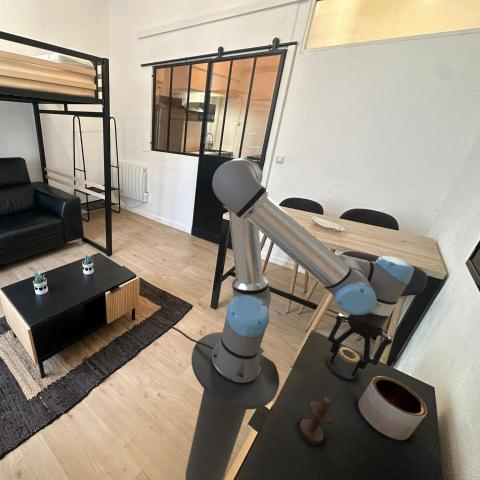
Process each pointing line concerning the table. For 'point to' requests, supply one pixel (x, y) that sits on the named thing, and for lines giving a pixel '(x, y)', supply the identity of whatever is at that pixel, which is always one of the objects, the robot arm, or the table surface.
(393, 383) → the planter
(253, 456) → the table surface
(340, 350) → the brass ring
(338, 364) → the rubber pad
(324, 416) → the brown wooden peg stand
